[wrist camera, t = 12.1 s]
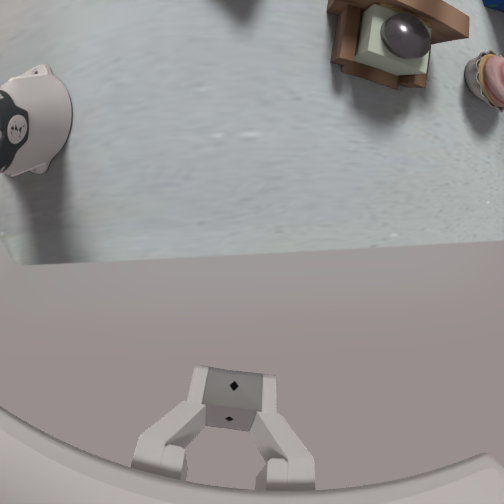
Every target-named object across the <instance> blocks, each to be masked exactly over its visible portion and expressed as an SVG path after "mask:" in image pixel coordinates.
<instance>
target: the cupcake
mask: <svg viewBox="0 0 504 504" xmlns="http://www.w3.org/2000/svg"><path fill="white" fill-rule="evenodd" d="M465 79H466V83H467V85H468V87H469V89H470V90H471V92H472V93H473V94H474V95H475V96H477V97H478V98H480V99H482V100H484V101H486V102H487V104H488V105H489V106H490V107H493V108H494V107H496V108H497V109H498V110H499V111H500V112H503V110H504V58H503V56H502V55H496V53H495V52H494V51H493V50H489V51H488V52H487V53H486V52H481V53H480V54H479V56H478V57H476V58H474V59H472V60H470V61H469V62H468V63H467V65H466V68H465Z"/></svg>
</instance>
